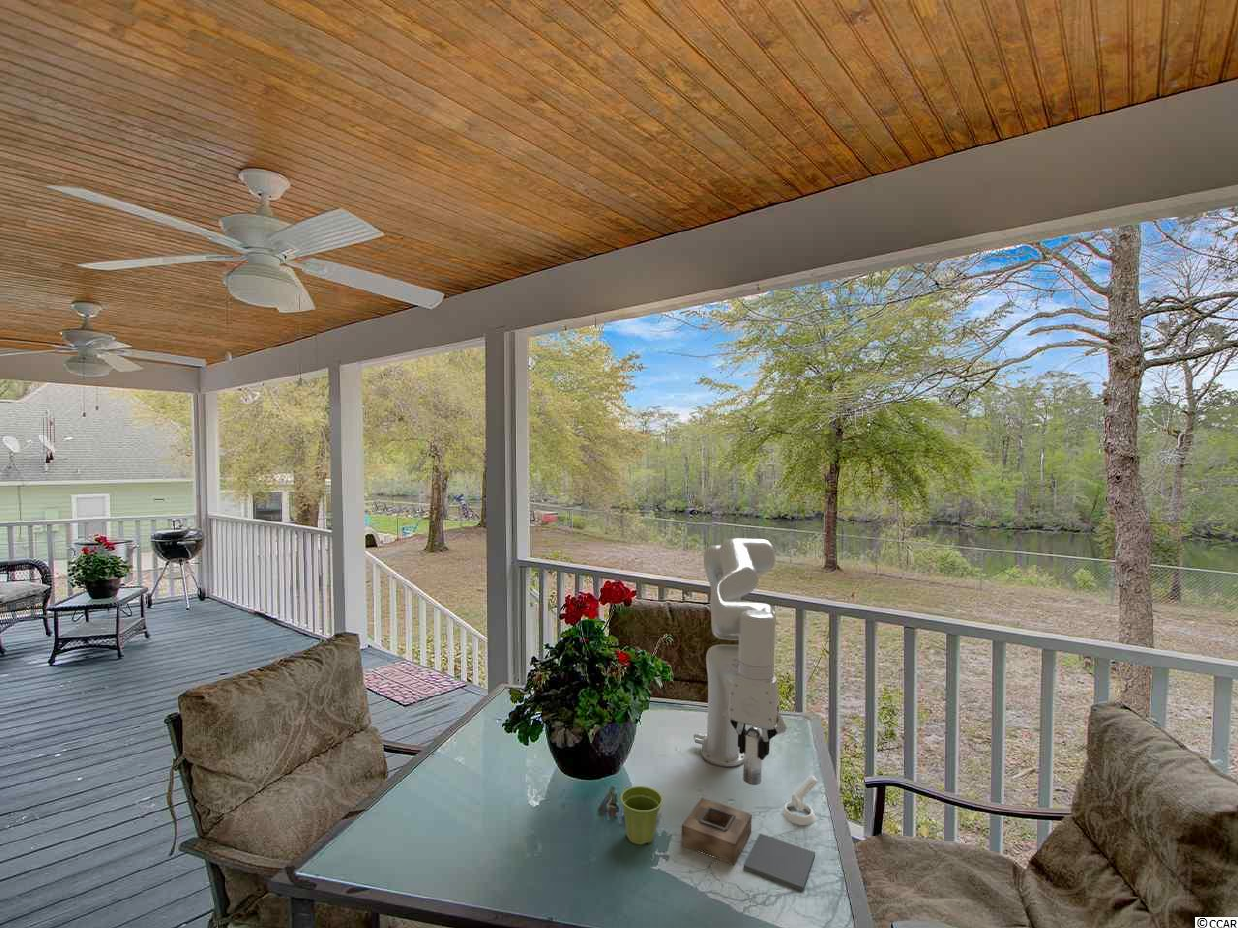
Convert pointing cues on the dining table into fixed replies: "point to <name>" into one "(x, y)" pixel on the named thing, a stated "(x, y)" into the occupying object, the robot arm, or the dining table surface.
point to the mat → (780, 861)
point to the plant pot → (641, 813)
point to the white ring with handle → (800, 803)
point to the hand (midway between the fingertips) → (753, 753)
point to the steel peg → (752, 756)
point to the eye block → (716, 830)
